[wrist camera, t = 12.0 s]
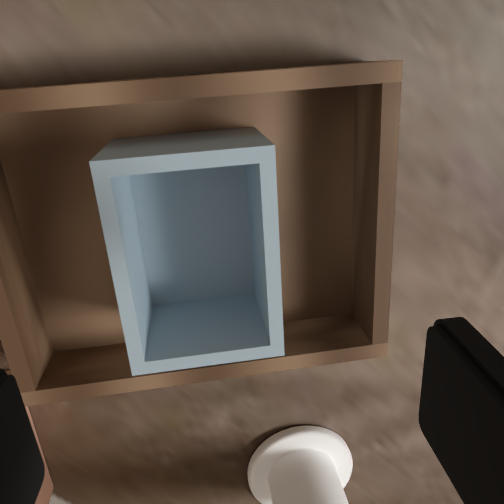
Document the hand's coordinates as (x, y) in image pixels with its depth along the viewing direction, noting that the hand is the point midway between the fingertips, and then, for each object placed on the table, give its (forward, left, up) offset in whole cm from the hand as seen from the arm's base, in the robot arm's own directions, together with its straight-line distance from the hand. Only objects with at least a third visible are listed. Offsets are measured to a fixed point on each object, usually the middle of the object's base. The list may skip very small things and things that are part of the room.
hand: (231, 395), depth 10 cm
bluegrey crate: (+1, 0, -13) cm, 13 cm away
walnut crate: (+1, 0, -14) cm, 14 cm away
